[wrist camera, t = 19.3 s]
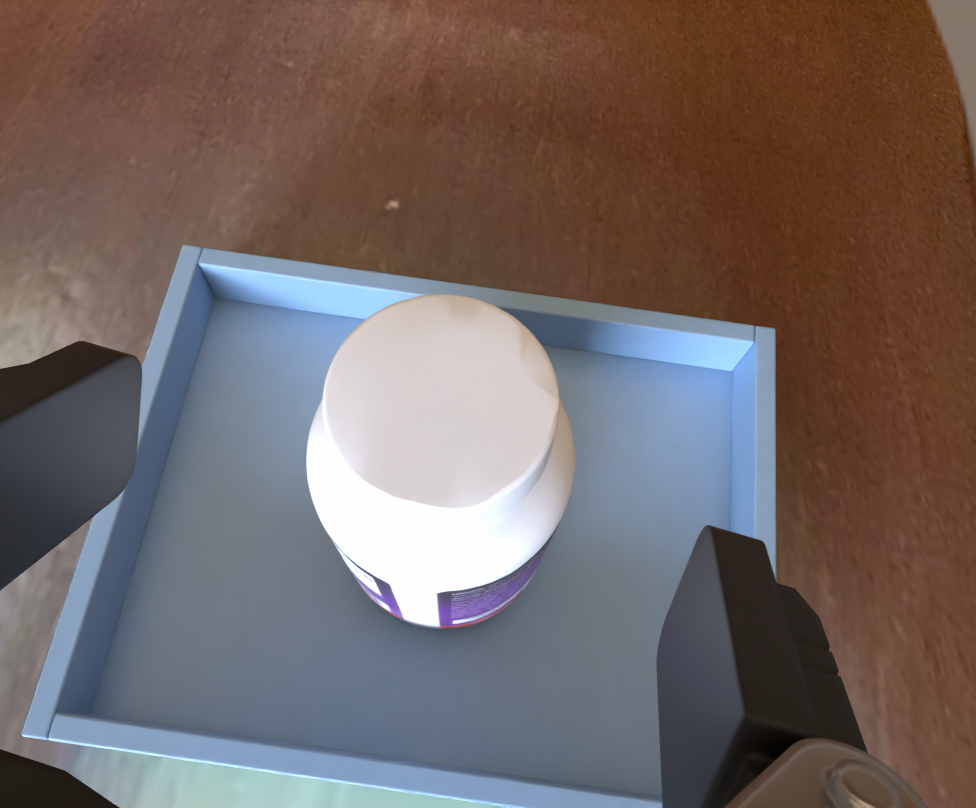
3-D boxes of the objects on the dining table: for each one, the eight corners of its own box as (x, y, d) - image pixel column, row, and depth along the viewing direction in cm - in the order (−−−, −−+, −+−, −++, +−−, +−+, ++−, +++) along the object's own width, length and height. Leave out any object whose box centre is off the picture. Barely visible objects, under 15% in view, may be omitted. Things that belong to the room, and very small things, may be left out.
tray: (746, 364, 25) (776, 327, 23) (741, 833, 20) (778, 846, 18) (206, 287, 25) (181, 243, 23) (67, 735, 20) (19, 736, 18)
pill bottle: (552, 456, 23) (618, 283, 14) (527, 647, 21) (587, 584, 12) (368, 426, 23) (318, 235, 14) (326, 614, 21) (237, 528, 12)
